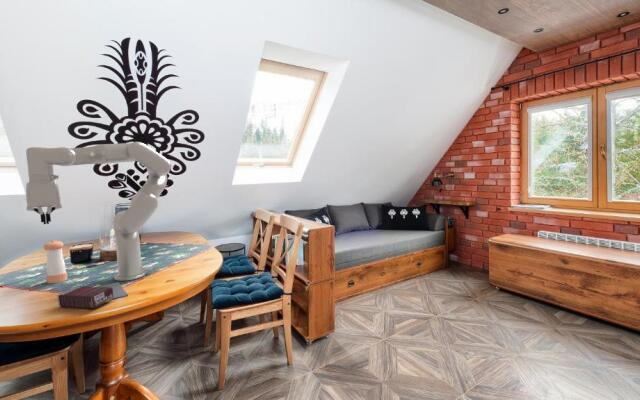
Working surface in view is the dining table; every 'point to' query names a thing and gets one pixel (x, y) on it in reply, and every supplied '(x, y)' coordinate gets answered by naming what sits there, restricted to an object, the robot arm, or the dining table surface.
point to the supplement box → (85, 297)
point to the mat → (116, 290)
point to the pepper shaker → (55, 262)
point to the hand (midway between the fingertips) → (46, 223)
